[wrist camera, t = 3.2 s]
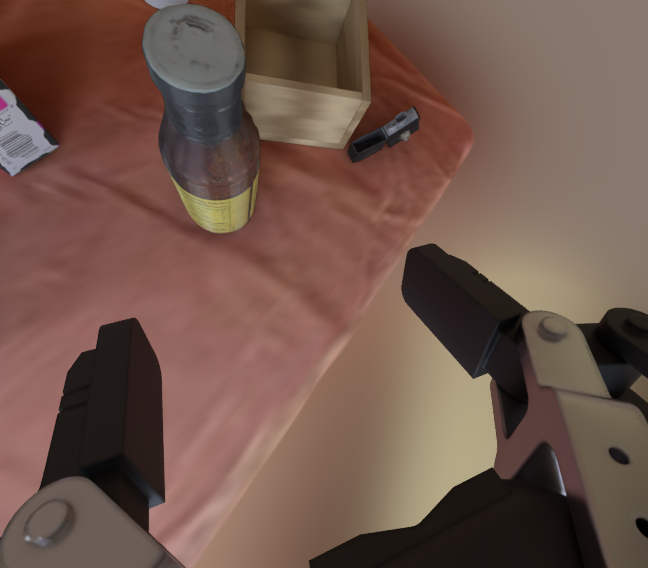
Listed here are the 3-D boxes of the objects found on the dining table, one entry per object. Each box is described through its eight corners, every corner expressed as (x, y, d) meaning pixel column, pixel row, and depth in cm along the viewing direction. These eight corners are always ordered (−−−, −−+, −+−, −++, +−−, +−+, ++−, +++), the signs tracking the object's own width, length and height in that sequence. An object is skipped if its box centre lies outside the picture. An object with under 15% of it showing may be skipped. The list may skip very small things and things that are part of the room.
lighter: (359, 173, 40) (352, 163, 35) (351, 158, 40) (343, 146, 35) (421, 134, 38) (424, 118, 33) (413, 118, 38) (414, 99, 33)
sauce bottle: (215, 164, 33) (190, -63, 14) (266, 204, 34) (308, 41, 15) (170, 212, 31) (72, 28, 12) (225, 253, 32) (213, 140, 13)
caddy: (234, 136, 34) (234, 79, 26) (235, 26, 36) (236, -57, 28) (343, 149, 37) (371, 102, 29) (339, 47, 39) (365, -23, 31)
